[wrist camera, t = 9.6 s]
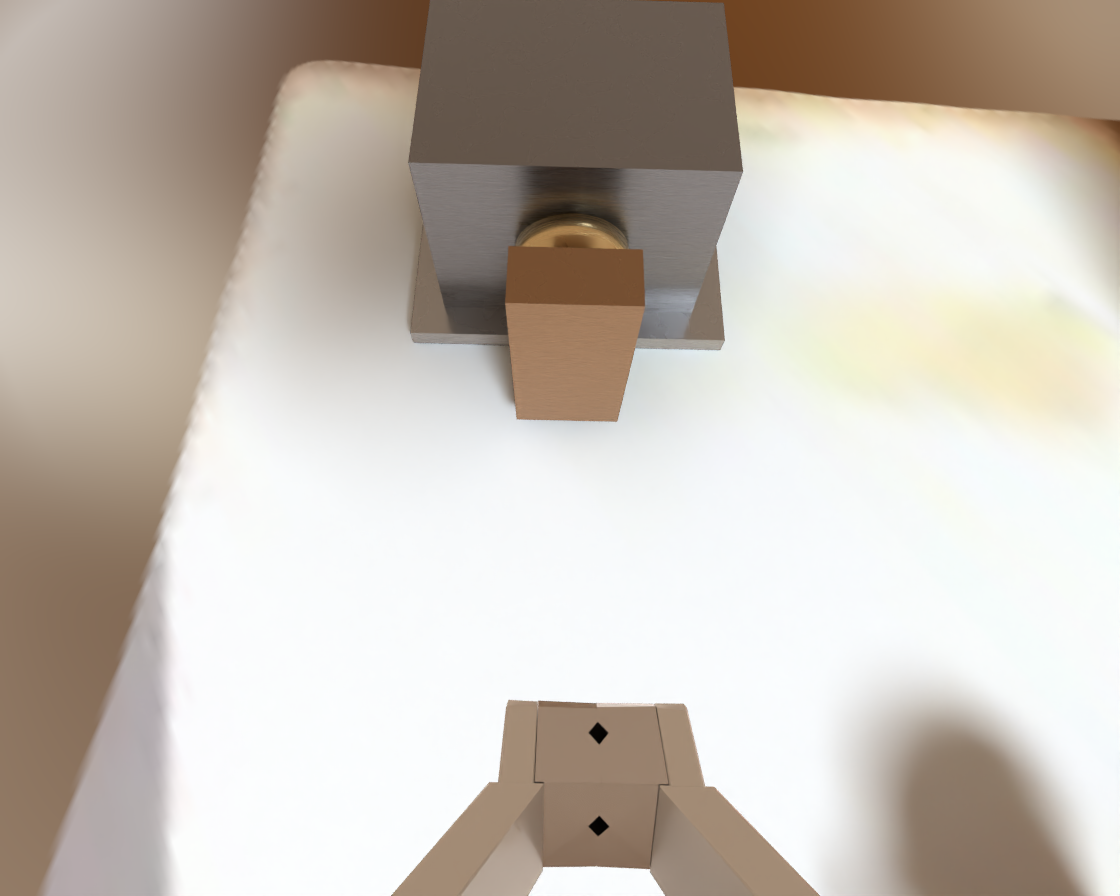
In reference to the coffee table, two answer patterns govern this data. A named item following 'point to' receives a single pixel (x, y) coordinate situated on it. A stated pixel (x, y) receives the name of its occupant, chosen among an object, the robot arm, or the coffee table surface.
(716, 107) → the bearing block
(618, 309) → the shaft
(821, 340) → the coffee table surface
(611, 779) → the robot arm
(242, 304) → the coffee table surface
